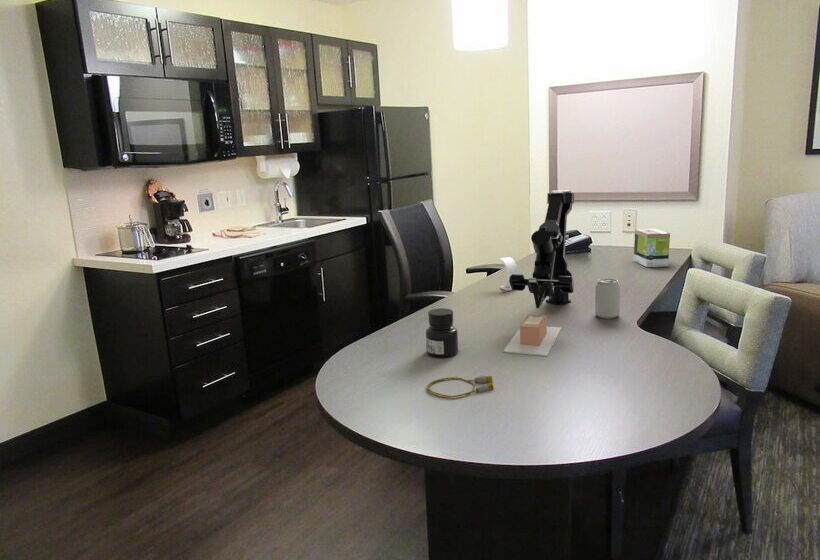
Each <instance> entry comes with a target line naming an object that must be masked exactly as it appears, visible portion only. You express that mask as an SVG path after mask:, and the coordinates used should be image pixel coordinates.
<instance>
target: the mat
mask: <svg viewBox="0 0 820 560" xmlns="http://www.w3.org/2000/svg"><path fill="white" fill-rule="evenodd" d="M561 331H562V327H558V326H547V334H546V336H545V338H544V339H543V341H542V343H541V345H540V346H533V345H521V344H520V328H519V329H518V330H517V332H516V333H515V335H513V337H512V338H511V340H510V341H509V342H508V344H507V345H506V346H505V348H504V349H503V351H502V352H503V353H507V354H517V355H530V356H539V357H540V356H541V357H548V356H549V354H550V352H551V350H552V348H553V346H554V344H555V343H556V340H557V339H558V336H559V335H560V333H561Z"/></svg>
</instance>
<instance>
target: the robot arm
mask: <svg viewBox="0 0 820 560" xmlns="http://www.w3.org/2000/svg"><path fill="white" fill-rule="evenodd" d="M546 196H547V197H546V198H547V202H546V204H548V206H547V208H546V209H547V210H546V214H545V219H544V222H543V223H542V224H541V225H539V226H538V230H535V232H533V233H532V234H531V237H530V238H531V239H530V240H531V242H532V246H533V250H534V253H535V254H536V255H535V261H534V267H533V272H532V277H528V278H525V276H524V274H523V273H522V274H521V273H520V274H519V273H518V274H512V275H511V276H510V278H509V282H510V285H511V288H512V290H513V291H515V292H516V291H521V292H522V291H524V290H525V289H526V287H527V289H528V291H529V294H530V293H531V294H533V298H534V303H535V308H536V309H540V307H541V306H542V305H543V303H544V301H545V302H547V303H550V304H552V305H553V304H554V305H558V306H560V305H563V304H567V303H571V302H572V300H571V299H569V298H570V296H569V294H573V293H574V290H575V283H574V278H573V274H572V273H571V269H570V265H569V263H568V261H567V259H566V258H565V257H566V239H567V220H568V219H567V218H568V215H569V214H570V212H571V211H572V209H573V204H575V192H572V191H571V190H569V189H568V190H552V191H551V192H549V193H548V192H547V195H546ZM512 290H511V291H512ZM547 297H548V299H546V298H547Z"/></svg>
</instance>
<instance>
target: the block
mask: <svg viewBox="0 0 820 560" xmlns="http://www.w3.org/2000/svg"><path fill="white" fill-rule="evenodd" d="M547 317H548V316H547V315H539V314H538V315H537V314H536V315H535V314H527V316H526V317H525V319H524V320H523V321H522V322H521V324H520V325H519V329H520V344H521V345H533V346H540V345H541V343H542V341H543V339H544V338H545V336H546V334H547V327H548V318H547Z"/></svg>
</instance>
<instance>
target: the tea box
mask: <svg viewBox="0 0 820 560" xmlns="http://www.w3.org/2000/svg"><path fill="white" fill-rule="evenodd" d="M670 240H671V233H670V232H668V231H666V230H665V231H664V230H661V229H659V228H646V229H645V228H640V229H638V228H637V229H635V230H634V244H633V245H634V248H633V261H634V262H636V263H638V264H640V265H642V266H644V267H645V268H661V267H664V268H665V267H668V266H669V260H670V258H669V257H670Z"/></svg>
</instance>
